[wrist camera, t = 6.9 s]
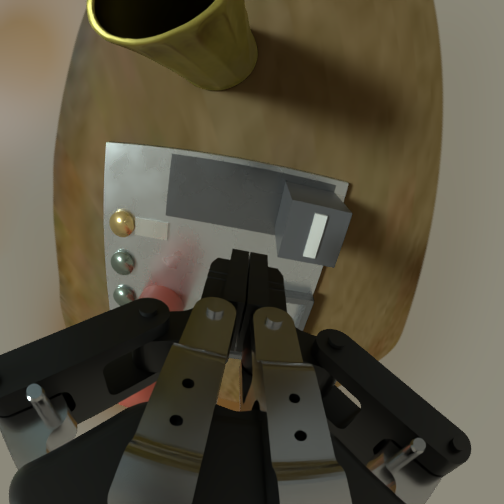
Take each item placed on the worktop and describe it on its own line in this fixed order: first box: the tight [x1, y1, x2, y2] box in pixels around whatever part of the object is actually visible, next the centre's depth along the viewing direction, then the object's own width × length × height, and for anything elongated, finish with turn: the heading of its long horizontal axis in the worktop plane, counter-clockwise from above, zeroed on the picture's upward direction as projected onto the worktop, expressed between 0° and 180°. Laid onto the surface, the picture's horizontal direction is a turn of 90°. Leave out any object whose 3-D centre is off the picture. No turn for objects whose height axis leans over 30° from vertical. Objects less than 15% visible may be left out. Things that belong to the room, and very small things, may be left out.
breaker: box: [275, 182, 352, 268], centre depth 21 cm, size 4×4×5 cm
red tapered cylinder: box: [118, 285, 184, 408], centre depth 23 cm, size 5×5×11 cm
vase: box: [87, 0, 258, 90], centre depth 12 cm, size 6×6×14 cm
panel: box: [104, 142, 349, 360], centre depth 26 cm, size 20×20×2 cm
